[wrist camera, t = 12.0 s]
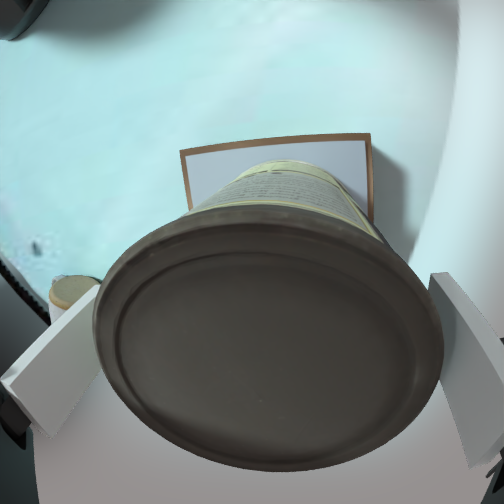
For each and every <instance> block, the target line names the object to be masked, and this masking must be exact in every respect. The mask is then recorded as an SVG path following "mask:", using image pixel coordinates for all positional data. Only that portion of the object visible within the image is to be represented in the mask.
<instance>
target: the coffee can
mask: <svg viewBox="0 0 504 504" xmlns="http://www.w3.org/2000/svg"><path fill="white" fill-rule="evenodd" d="M92 333H93V340H94V345H95V350H96V354H97V357H98V360H99V363H100V365H101V367H102V369H103V372H104V373H105V376H106V378H107V379H108V381H109V383H110V384H111V386H112V388H113V389H114V390H115V392H116V393H117V395H118V396H119V397H120V399H121V400H122V401H123V402H124V403H125V404H126V406H127V407H128V408H129V409H130V410H131V411H132V412H133V413H134V414H135V415H136V416H137V417H138V418H139V419H140V420H141V421H142V422H143V423H144V424H145V425H147V426H148V427H149V428H150V429H152V430H153V431H155V432H156V433H157V434H159V435H161V436H162V437H163V438H165V439H166V440H168V441H170V442H172V443H173V444H175V445H177V446H178V447H180V448H182V449H184V450H186V451H189V452H191V453H193V454H195V455H197V456H200V457H203V458H205V459H208V460H211V461H214V462H218V463H221V464H224V465H228V466H232V467H237V468H242V469H248V470H257V471H265V472H296V471H308V470H314V469H320V468H326V467H330V466H334V465H337V464H341V463H344V462H347V461H350V460H353V459H355V458H358V457H361V456H363V455H365V454H367V453H369V452H371V451H373V450H375V449H377V448H379V447H380V446H382V445H384V444H386V443H387V442H388V441H389V440H391V439H393V438H394V437H395V436H397V435H398V434H399V433H400V432H402V431H403V430H404V429H405V428H406V427H407V426H408V425H409V424H410V423H411V422H412V421H413V420H414V419H415V418H416V417H417V416H418V415H419V413H420V412H421V411H422V410H423V408H424V407H425V405H426V404H427V402H428V400H429V399H430V397H431V395H432V393H433V391H434V389H435V387H436V385H437V383H438V380H439V378H440V374H441V370H442V365H443V359H444V337H443V329H442V324H441V319H440V317H439V314H438V311H437V309H436V306H435V304H434V302H433V300H432V298H431V295H430V293H429V292H428V290H427V289H426V288H425V286H424V285H423V283H422V282H421V280H420V279H419V278H418V277H417V275H416V274H415V273H414V272H413V270H412V269H411V268H410V267H409V266H408V265H407V264H406V262H405V261H404V260H403V259H402V258H401V257H400V256H399V255H398V254H396V253H395V252H394V251H393V249H392V248H391V247H390V245H389V244H388V242H387V241H386V240H385V238H384V237H383V235H382V234H381V233H380V231H379V230H378V229H377V228H376V227H375V225H374V224H373V223H372V222H371V220H370V219H369V218H368V217H367V216H366V214H365V213H364V212H363V211H362V209H361V208H360V207H359V205H358V204H357V203H356V202H355V200H354V199H353V198H352V196H351V195H350V194H349V192H348V191H347V189H346V188H345V187H344V186H343V184H342V183H341V182H340V181H339V180H338V179H337V178H335V177H334V176H333V175H332V174H331V173H329V172H328V171H326V170H324V169H323V168H321V167H318V166H316V165H314V164H311V163H308V162H304V161H300V160H291V159H280V160H271V161H267V162H264V163H261V164H258V165H256V166H253V167H251V168H250V169H248V170H246V171H245V172H243V173H242V174H240V175H239V176H238V177H237V178H236V179H235V180H233V181H232V182H230V183H229V184H227V185H226V186H224V187H223V188H221V189H220V190H218V191H217V192H216V193H214V194H213V195H211V196H210V197H208V198H207V199H205V200H204V201H203V202H201V203H200V204H198V205H197V206H195V207H194V208H193V209H191V210H190V211H188V212H187V213H186V214H184V215H183V216H181V217H180V218H178V219H177V220H175V221H172V222H170V223H168V224H166V225H164V226H162V227H160V228H158V229H156V230H154V231H153V232H151V233H149V234H147V235H146V236H144V237H143V238H141V239H140V240H139V241H137V242H136V243H135V244H133V245H132V246H131V247H129V248H128V249H127V250H126V251H125V252H124V253H123V254H122V255H121V256H120V257H119V258H118V260H117V261H116V262H115V263H114V264H113V265H112V267H111V268H110V269H109V271H108V273H107V274H106V276H105V278H104V279H103V281H102V283H101V285H100V288H99V290H98V293H97V295H96V298H95V302H94V308H93V314H92Z"/></svg>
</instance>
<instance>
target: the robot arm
mask: <svg viewBox="0 0 504 504" xmlns="http://www.w3.org/2000/svg"><path fill="white" fill-rule="evenodd" d="M48 1H49V0H0V40H11V39H14V38H16V37H17V36H19V35H20V34H21V33H22V32H24V31H25V30H26V29H27V28H28V27H29V26H30V25H31V24H32V23H33V21H34V20H35V19H36V18H37V17H38V15H39V14H40V13H41V11H42V10H43V9H44V7H45V6H46V4H47V3H48ZM99 288H100V285H94V286H93V287H92V288H91V289H90V290H89V291H88V292H87V293H85V294H84V295H83V296H82V297H81V298H80V299H79V300H78V301H77V302H76V303H74V304H73V305H72V306H71V307H70V308H69V309H68V310H67V311H66V312H65V313H64V314H63V315H62V316H61V317H60V318H58V319H57V320H56V321H55V322H54V323H53V324H52V325H51V326H50V327H49V328H48V329H47V330H46V331H45V332H44V333H43V334H42V335H41V336H40V337H39V338H38V339H37V340H36V341H35V342H34V343H33V344H32V345H31V346H30V347H29V348H28V349H27V350H26V351H25V352H24V353H23V354H22V355H21V356H20V357H19V358H18V359H17V361H16V362H15V363H14V364H13V365H12V366H11V367H10V368H9V369H8V370H7V371H6V372H5V374H4V375H3V376H2V377H1V378H0V504H39V499H38V491H37V484H36V475H35V464H34V448H33V432H32V430H31V428H30V427H29V425H30V424H31V423H32V424H33V425H34V426H35V427H36V428H37V429H38V431H39V432H40V433H42V434H44V435H46V436H47V437H49V438H51V439H53V438H54V436H55V435H56V433H57V432H58V430H59V429H60V427H61V426H62V424H63V423H64V421H65V420H66V418H67V417H68V415H69V414H70V412H71V411H72V410H73V408H74V407H75V405H76V404H77V402H78V401H79V400H80V398H81V397H82V395H83V394H84V392H85V391H86V389H87V388H88V387H89V385H90V384H91V382H92V381H93V380H94V378H95V377H96V376H97V374H98V373H99V372H100V370H101V369H102V367H101V365H100V363H99V360H98V357H97V354H96V350H95V345H94V340H93V333H92V314H93V308H94V302H95V298H96V295H97V293H98V290H99ZM428 292H429V293H430V295H431V298H432V300H433V302H434V304H435V306H436V309H437V311H438V314H439V317H440V319H441V324H442V329H443V337H444V359H443V365H442V370H441V374H440V378H439V380H440V382H441V385H442V387H443V390H444V392H445V395H446V398H447V400H448V403H449V406H450V409H451V411H452V414H453V417H454V420H455V423H456V426H457V429H458V432H459V435H460V438H461V442H462V445H463V448H464V451H465V455H466V459H467V462H468V466H469V470H471V469H474V468H476V467H479V466H481V465H484V464H487V463H489V462H490V461H491V460H492V459H493V458H494V457H495V456H496V455H497V454H498V453H499V452H500V454H501V457H502V459H501V460H500V461H499V462H498V463H497V464H496V465H495V466H494V467H493V468H492V469H491V470H490V471H489V472H488V474H487V475H486V478H488V477H490V476H491V475H492V474H493V473H494V472H495V473H494V475H493V478H492V480H491V483H490V485H489V487H488V489H487V492H486V494H485V496H484V498H483V500H482V502H481V504H504V338H500V339H499V338H498V336H497V335H496V333H495V332H494V330H493V329H492V328H491V327H490V325H489V324H488V322H487V321H486V319H485V318H484V317H483V316H482V314H481V313H480V311H479V310H478V309H477V308H476V306H475V305H474V304H473V302H472V301H471V300H470V299H469V297H468V296H467V295H466V294H465V292H464V291H463V290H462V289H461V288H460V286H459V285H458V284H457V283H456V282H455V280H454V279H453V278H452V277H451V276H450V275H449V273H447V272H444V273H433V274H431V275H430V282H429V288H428Z"/></svg>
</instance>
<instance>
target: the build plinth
mask: <svg viewBox="0 0 504 504" xmlns="http://www.w3.org/2000/svg"><path fill="white" fill-rule="evenodd" d="M179 151H180V158H181V165H182V171H183V178H184V184H185V190H186V196H187V202H188V208H189V211H190V210H191V209H193V208H194V207H195V206H197V205H198V204H200V203H201V202H203V201H204V200H205V199H207V198H208V197H210V196H211V195H213V194H214V193H216V192H217V191H218V190H220V189H221V188H223V187H224V186H226V185H227V184H229V183H230V182H232V181H233V180H235V179H236V178H237V177H238V176H239V175H240V174H242V173H243V172H245V171H246V170H248V169H250V168H251V167H253V166H256V165H258V164H261V163H264V162H267V161H271V160H280V159H291V160H300V161H304V162H308V163H311V164H314V165H316V166H318V167H321V168H323V169H324V170H326V171H328V172H329V173H331V174H332V175H333V176H334V177H335V178H337V179H338V180H339V181H340V182H341V183H342V184H343V186H344V187H345V188H346V189H347V191H348V192H349V194H350V195H351V196H352V198H353V199H354V200H355V202H356V203H357V204H358V205H359V207H360V208H361V209H362V211H363V212H364V213H365V214H366V216H367V217H368V218H369V219H370V220H371V222H372V223H373V167H372V148H371V134H370V133H342V134H316V135H299V136H285V137H273V138H263V139H254V140H245V141H237V142H229V143H222V144H215V145H208V146H202V147H195V148H190V149H184V150H179Z"/></svg>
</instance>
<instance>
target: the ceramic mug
mask: <svg viewBox="0 0 504 504" xmlns="http://www.w3.org/2000/svg"><path fill="white" fill-rule="evenodd" d="M94 285H101V284H100V283H99V282H98V281H96V280H95V279H93V278H91V277H87V276H83V275H72V276H67V277H66V276H64V275H59V276H56V277H54V278H53V279H52V287H51V289H50V291H49V311H50V317H51V323H52V324H53V323H54V322H55V321H56V320H57V319H58V318H60V317H61V316H62V315H63V314H64V313H65V312H66V311H67V310H68V309H69V308H70V307H71V306H72V305H73V304H74V303H76V302H77V301H78V300H79V299H80V298H81V297H82V296H83V295H84V294H85V293H87V292H88V291H89V290H90V289H91V288H92V287H93V286H94Z"/></svg>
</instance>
